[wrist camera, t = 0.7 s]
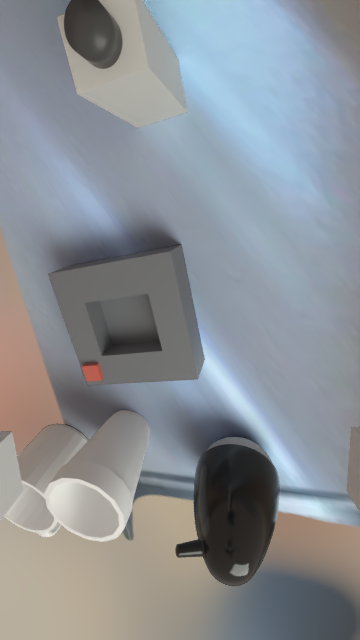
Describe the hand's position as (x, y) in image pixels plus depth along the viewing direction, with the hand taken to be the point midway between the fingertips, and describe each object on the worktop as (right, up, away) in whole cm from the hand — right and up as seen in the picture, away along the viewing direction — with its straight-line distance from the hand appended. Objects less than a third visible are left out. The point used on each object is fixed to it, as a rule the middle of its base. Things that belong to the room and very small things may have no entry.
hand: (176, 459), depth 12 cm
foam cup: (-7, -10, +33) cm, 35 cm away
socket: (-5, +6, +25) cm, 27 cm away
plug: (-2, +26, +16) cm, 31 cm away
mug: (-18, -16, +38) cm, 45 cm away
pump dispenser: (+8, -13, +30) cm, 33 cm away
